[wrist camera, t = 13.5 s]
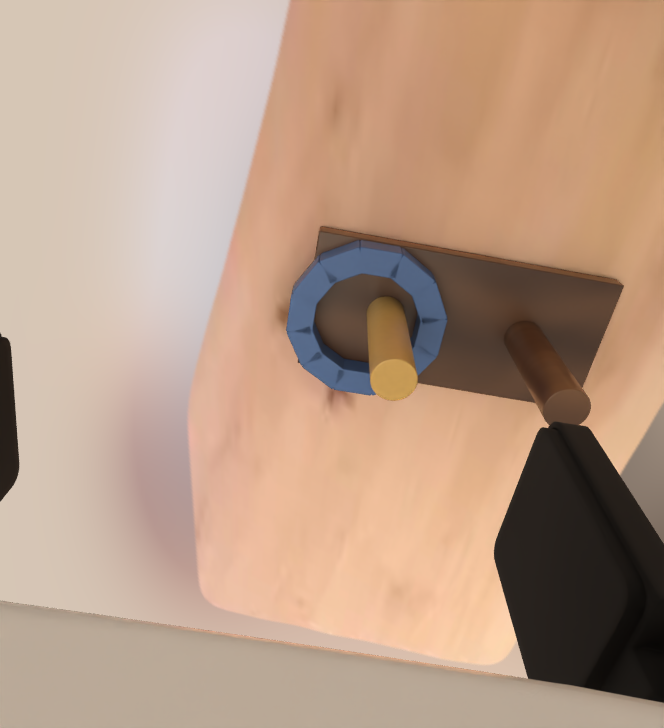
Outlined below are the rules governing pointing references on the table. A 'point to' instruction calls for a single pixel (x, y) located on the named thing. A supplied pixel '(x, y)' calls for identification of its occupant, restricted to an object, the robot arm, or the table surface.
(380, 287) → the rack
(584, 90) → the table surface
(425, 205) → the table surface
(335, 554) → the table surface
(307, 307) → the ring
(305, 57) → the table surface
